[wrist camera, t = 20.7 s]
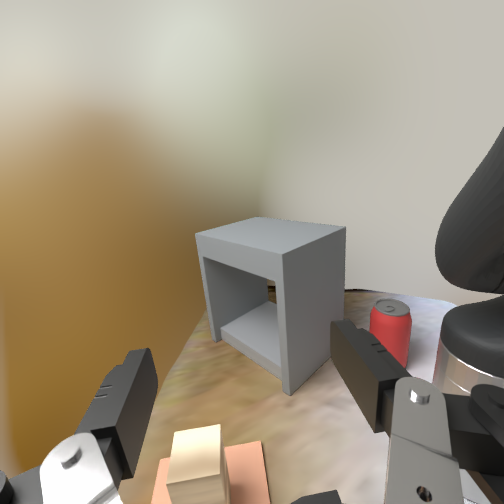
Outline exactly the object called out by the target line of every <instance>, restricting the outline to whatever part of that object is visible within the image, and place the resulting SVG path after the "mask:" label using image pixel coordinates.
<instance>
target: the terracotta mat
mask: <svg viewBox="0 0 504 504" xmlns="http://www.w3.org/2000/svg"><path fill="white" fill-rule="evenodd" d="M224 450H225V455H226V461H227V467H228V473H229V479H230V487H231V504H270V499H269V493H268V486H267V479H266V473H265V466H264V460H263V453H262V446H261V441H256V442H251V443H246V444H240V445H235V446H229V447H224ZM169 463H170V458H165V459H160V463H159V468H158V473H157V478H156V483H155V488H154V492H153V497H152V502H151V504H172V503H171V500H170V497H169V493H168V490H167V486H166V480H167V475H168V469H169Z"/></svg>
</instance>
